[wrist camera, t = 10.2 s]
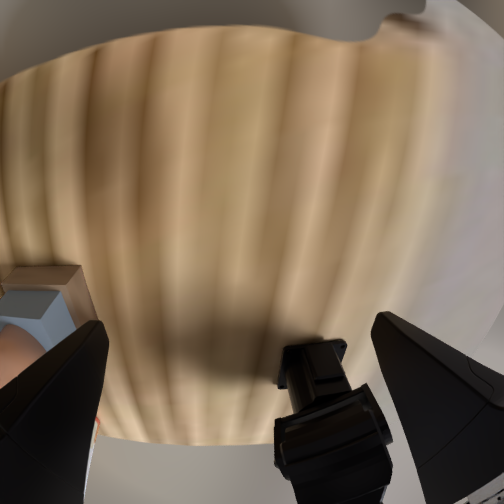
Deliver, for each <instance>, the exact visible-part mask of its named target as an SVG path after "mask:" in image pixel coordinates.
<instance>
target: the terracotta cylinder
mask: <svg viewBox="0 0 504 504" xmlns="http://www.w3.org/2000/svg"><path fill="white" fill-rule="evenodd" d="M45 353H46V350H45V349H44V348H43V346H42V345H41V344H40V343H39V342H38V340H37V339H35V338H34V337H33V336H32V335H31V334H30V333H28V332H27V331H26V330H24V329H22V328H21V327H19V326H16V325H13V324H7V325H5V326H4V327H3V329H2V330H1V331H0V389H1V388H2V387H3V386H5V385H6V384H7V383H8V382H10V381H11V380H12V379H13V378H15V377H16V376H17V377H18V374H20V373H21V372H22V371H23V370H25V369H26V368H27V367H28V366H30V365H31V364H32V363H33V362H35V361H36V360H37V359H38V358H40V357H41V356H42V355H44V354H45Z"/></svg>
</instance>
